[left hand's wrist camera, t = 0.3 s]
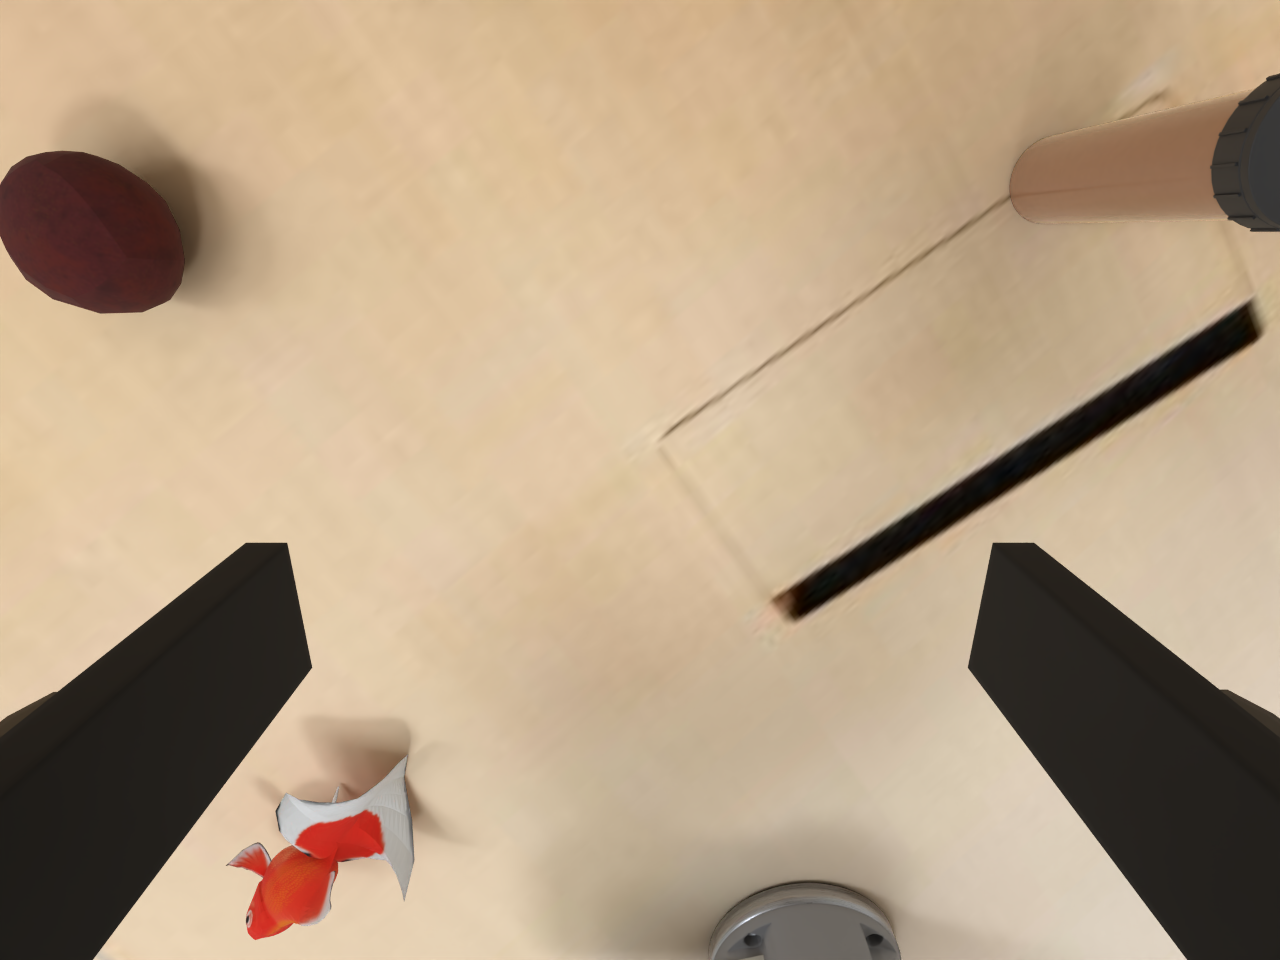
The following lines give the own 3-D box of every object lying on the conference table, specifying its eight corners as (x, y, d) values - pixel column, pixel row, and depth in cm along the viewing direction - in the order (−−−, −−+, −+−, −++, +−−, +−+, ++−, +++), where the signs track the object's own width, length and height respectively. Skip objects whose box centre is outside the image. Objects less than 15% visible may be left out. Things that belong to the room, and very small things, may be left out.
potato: (136, 129, 35) (19, 105, 28) (245, 260, 37) (159, 267, 30) (42, 214, 36) (-91, 210, 30) (152, 335, 39) (51, 357, 32)
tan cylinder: (1062, 115, 35) (1353, 36, 21) (1107, 180, 36) (1413, 146, 22) (993, 180, 36) (1223, 147, 22) (1039, 241, 37) (1287, 247, 23)
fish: (159, 837, 46) (156, 975, 38) (358, 681, 49) (392, 779, 42) (271, 891, 52) (288, 1019, 44) (440, 750, 56) (482, 846, 48)
